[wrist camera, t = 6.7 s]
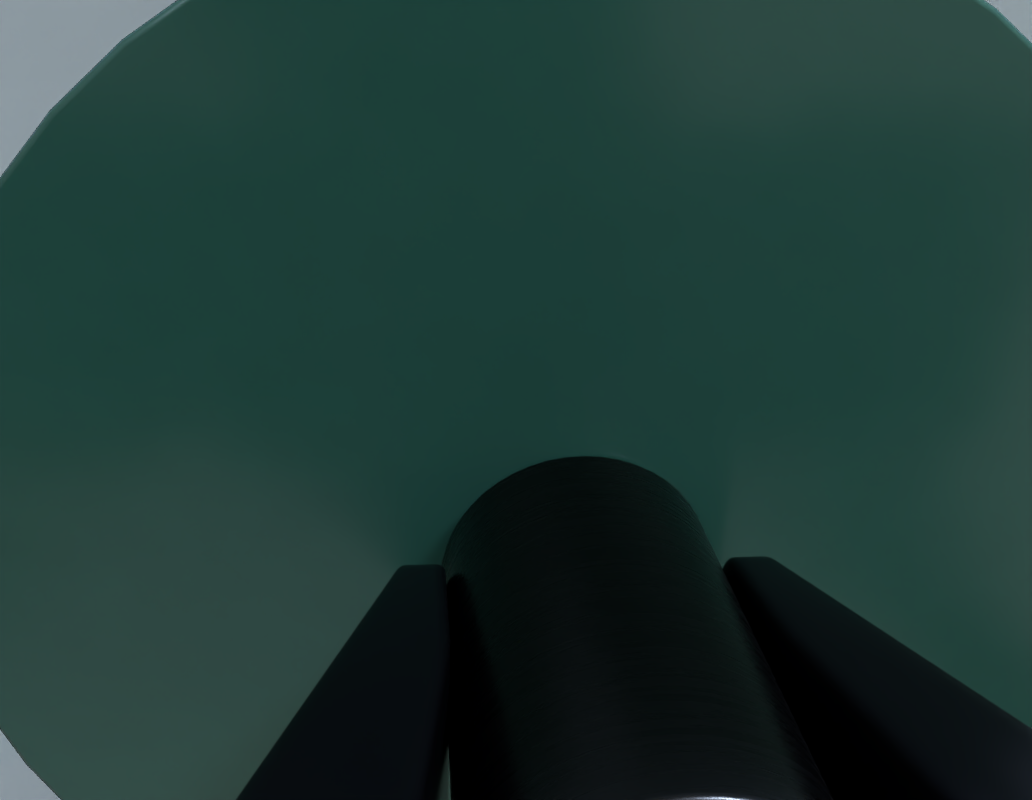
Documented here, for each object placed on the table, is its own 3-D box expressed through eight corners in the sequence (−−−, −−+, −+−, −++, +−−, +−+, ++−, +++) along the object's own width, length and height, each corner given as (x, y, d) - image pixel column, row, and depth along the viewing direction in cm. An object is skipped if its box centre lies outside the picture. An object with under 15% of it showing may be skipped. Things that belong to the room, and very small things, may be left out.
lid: (953, 860, 14) (1222, 1327, 9) (69, 912, 12) (-128, 1479, 8) (1279, -89, 8) (2286, -100, 4) (-191, -162, 7) (-1205, -302, 3)
